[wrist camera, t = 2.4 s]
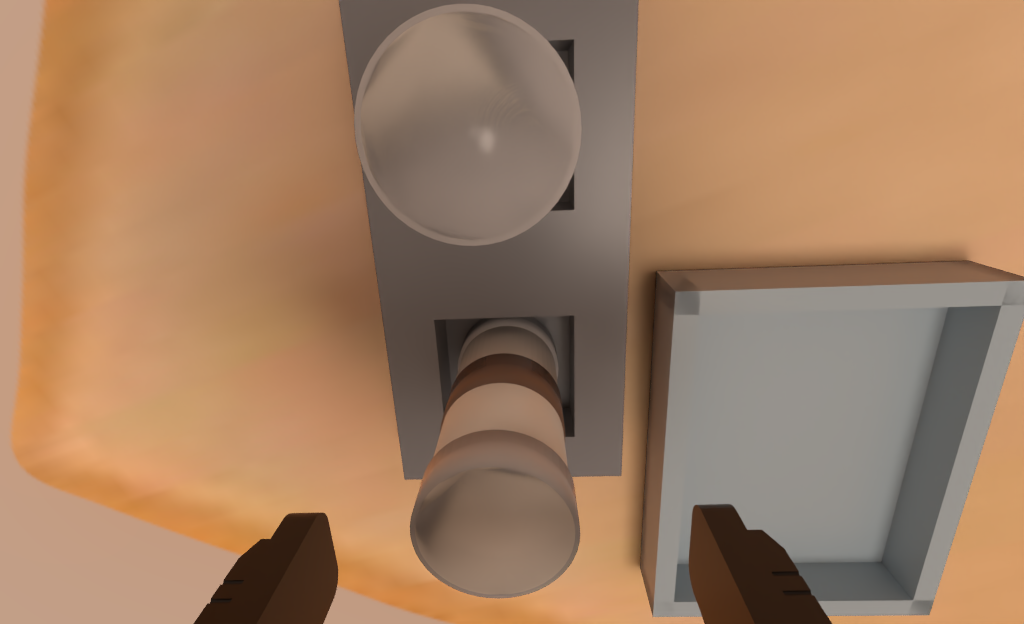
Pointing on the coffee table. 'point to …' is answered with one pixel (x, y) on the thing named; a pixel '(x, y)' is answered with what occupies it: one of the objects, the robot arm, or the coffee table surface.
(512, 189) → the fuse
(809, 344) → the parts tray
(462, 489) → the cylinder
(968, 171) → the coffee table surface
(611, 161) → the fuse block
